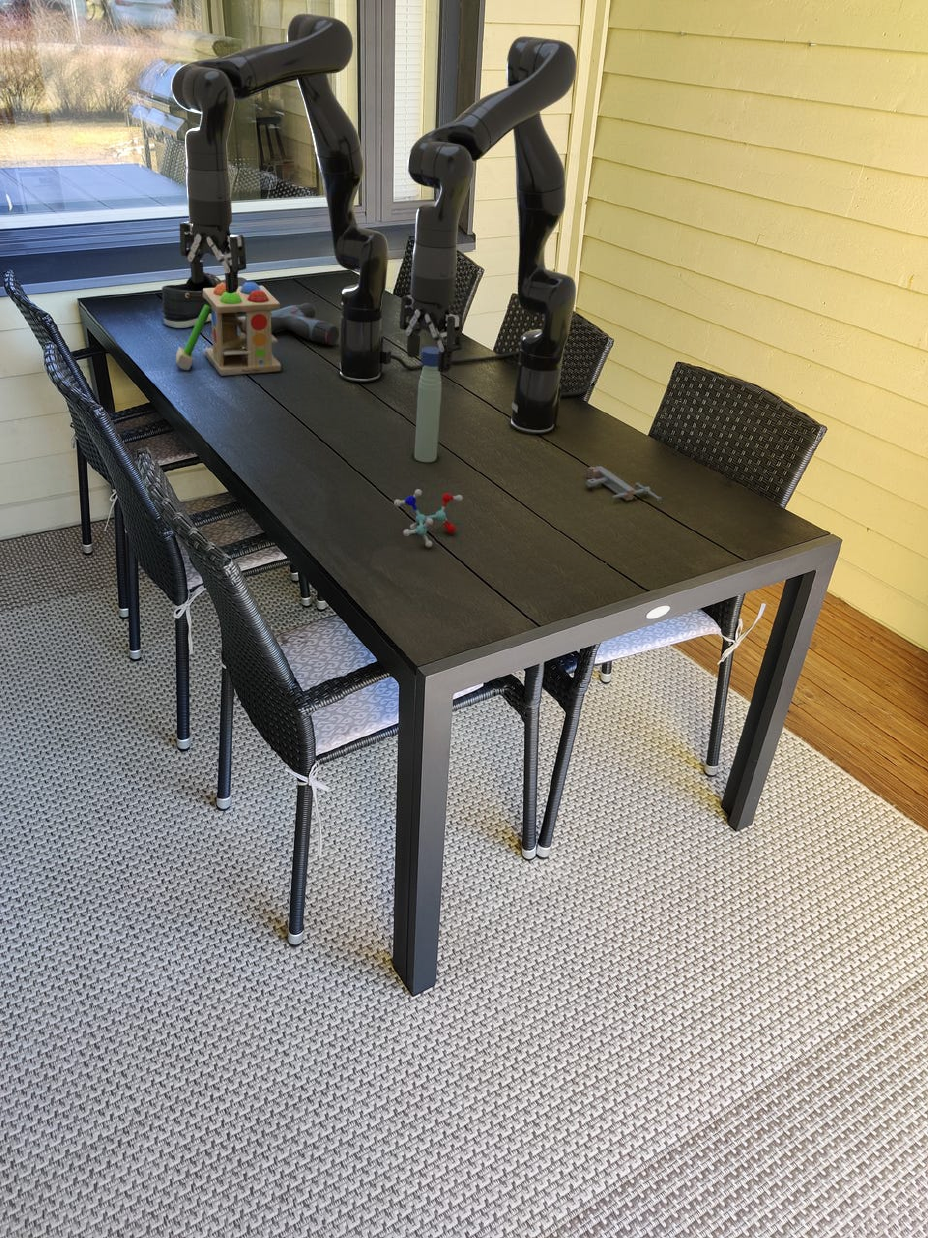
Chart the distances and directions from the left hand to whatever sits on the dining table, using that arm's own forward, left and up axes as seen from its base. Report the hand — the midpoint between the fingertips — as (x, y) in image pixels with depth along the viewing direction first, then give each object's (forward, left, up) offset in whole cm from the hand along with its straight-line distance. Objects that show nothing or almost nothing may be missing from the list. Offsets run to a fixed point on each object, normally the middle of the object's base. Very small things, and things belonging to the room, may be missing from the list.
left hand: (214, 287), depth 183 cm
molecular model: (+7, +55, -29) cm, 63 cm away
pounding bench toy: (-28, -27, -29) cm, 48 cm away
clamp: (-32, +74, -29) cm, 86 cm away
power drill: (-59, -27, -29) cm, 72 cm away
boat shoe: (-53, -57, -29) cm, 83 cm away
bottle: (-19, +37, -29) cm, 51 cm away
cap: (-19, +37, -7) cm, 42 cm away
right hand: (-8, +43, -5) cm, 44 cm away
